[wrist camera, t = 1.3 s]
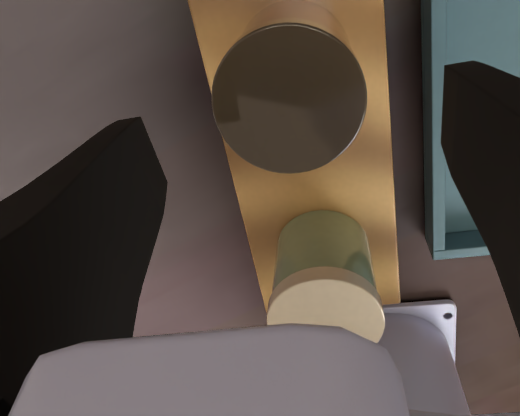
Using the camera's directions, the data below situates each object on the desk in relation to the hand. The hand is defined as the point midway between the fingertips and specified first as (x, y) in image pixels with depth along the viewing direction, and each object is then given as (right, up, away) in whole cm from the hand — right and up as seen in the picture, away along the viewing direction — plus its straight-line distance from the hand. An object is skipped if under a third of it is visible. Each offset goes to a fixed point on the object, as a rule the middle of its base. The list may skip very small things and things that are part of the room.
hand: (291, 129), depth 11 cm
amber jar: (+1, +4, +7) cm, 8 cm away
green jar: (+2, -4, +11) cm, 12 cm away
